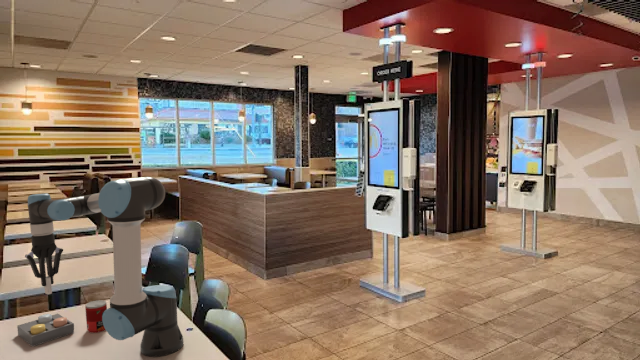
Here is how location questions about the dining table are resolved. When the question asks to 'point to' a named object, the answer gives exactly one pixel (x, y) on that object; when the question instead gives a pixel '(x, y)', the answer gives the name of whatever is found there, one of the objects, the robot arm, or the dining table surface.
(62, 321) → the salmon pink rounded dome
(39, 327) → the button mustard
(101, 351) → the dining table surface
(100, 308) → the canned food
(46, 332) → the button panel
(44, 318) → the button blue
